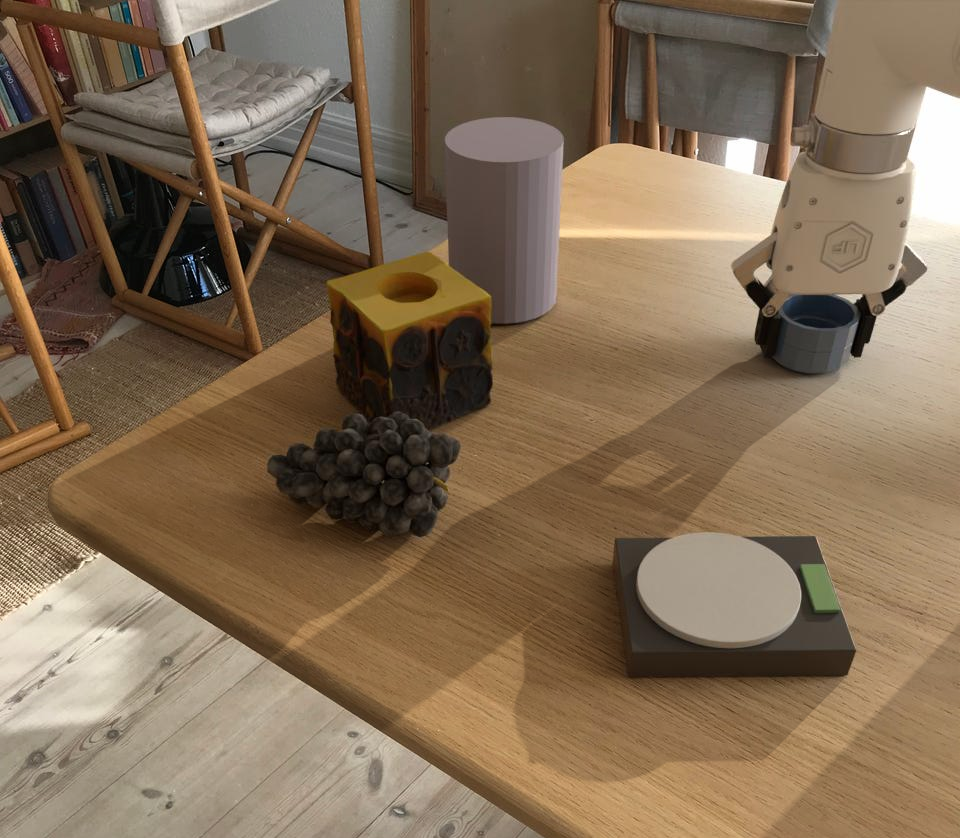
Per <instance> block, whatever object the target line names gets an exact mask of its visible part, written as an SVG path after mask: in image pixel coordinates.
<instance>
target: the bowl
mask: <svg viewBox="0 0 960 838" xmlns="http://www.w3.org/2000/svg"><path fill="white" fill-rule="evenodd" d="M778 312H779V314H780V317H781V324H780V328H779V333H778V338H777V342H776V347H775V352H774V356H773V357H771V359H773V360H774V361H776V362H777V363H778V364H780V365H781V366H783V367H784V368H786V369H788V370H790V371H793V372H796V373H800V374H808V375H821V374H826V373H830V372H833V371H838V370H840V369H841V368H842V367H845V365H847V363H848V362H849V359H850V355H851V353H850V352H851V348H852V345H853V341H854V337H855V334H856V330H857V327H858V323H859V319H860V316H861V314H860V312H859V310H858V308H857V306H856V305H854V303H853V302H852V301H850V300H849V299H848V298H845V297H842V296H840V295H793V294H791V295H790V296H789V297H788V298H787V300H786V301H785V302H784V304H783V305H782V306H781V307H780V309H779V311H778Z"/></svg>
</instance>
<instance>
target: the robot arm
mask: <svg viewBox="0 0 960 838" xmlns="http://www.w3.org/2000/svg"><path fill="white" fill-rule="evenodd" d="M824 59H825V60H824V63H823V69H822V73H821V78H820V82H819V88H818V93H817V97H816V101H815V106H814V112H811V113H810V117H809V120H808V122H807V124H803V125H802V126H799V127H798V126H796V127H795V126H793V127H792V129H791V132H790V138H789V141H790V142H789V143H790V146H791V147H799V148H800V149H804V150H805V151H800V152H799V153H798V155H797V156H796V158H795V161H794V162H793V164H792V167H791V170H790V172H789V174H788V178H787V180H786V182H785V186H784V188H783V191H782V194H781V197H780V200H779V203H778V207H777V209H776V213H775V218H774V220H773V224H772V228H771V232H770V235H768V236H767V237H766V238H764V239H762V240H761V241H760V242H758V243H757V244H755V245H754V246H752V248H750V249H749V250H747V251H746V252H744V253H743V254H741V255H739V257H737V258H736V259H735V260H733V261H732V262H731V265H730V269H731V271H732V273H733V276H734V277H735V279H736V280H737V282H738V283H739V284H740V286H741V287H742V289H743V290H744V291H745V292H746V295H747V296H748V298H750V300H751V301H752V302H753V303H754V304H755V305H756V306H757V308H758V314H757V321H756V324H755V329H754V343H755V345H756V346H759V348H760V350H761V353H762V356H763V358H764V359H767V360H768V359H772V357H773V356H774V352H775V347H776V342H777V338H778V333H779V328H780V324H781V317H780V314H779V312H778V311H779V309H780V307H781V306H782V305H783V304H784V302H785V301H786V300H787V298H788V297H789V296H790V295H791V294H793V295H837V296H840V295H861V297H860V298H856V301H855V302H854V303H853V304H854V305H856V306H857V308H858V310H859V312H860V314H861V316H860V319H859V323H858V327H857V330H856V334H855V337H854V341H853V345H852V348H851V352H850V355H851V357H853V358H857V359H859V358H861V357H862V355H863V351H864V348H865V345H867V344H869V343H870V341H871V338H872V334H873V332H874V328H875V324H876V321H877V317H879V316H881V315H882V314H884V312H885V311H886V307H887V306H889V305H890V304H891V303H893V302H894V301H895V300H897V299H898V298H899V297H901V296H902V295H903V294H905V292H906V290H907V288H908V287H911V286H913V284H914V283H915V282H916V281H918V280H919V279H920V278H921V277H922V276H923V275H924V274H926V272H927V271H928V265H927V264H926V262H925V260H924V259H923V257H921V255H920V254H919V253H918V252H916V250H914V248H913V247H911V245H910V244H909V243H908V242H907V236H908V232H909V226H910V219H911V215H912V207H913V200H914V193H915V183H916V164H914V162H913V161H912V160H911V159H910V158H908V156H909V152H910V149H911V145H912V142H913V137H914V134H915V131H916V127H917V123H918V119H919V115H920V113H921V112H920V111H921V108H922V104H923V100H924V97H925V95H926V90H927V88H930V89H932V90H934V91H937V92H939V93H942V94H944V95H947V96H951V97H953V98H955V99H960V0H837V1H836V6H835V10H834V14H833V20H832V25H831V30H830V34H829V39H828V43H827V47H826V53H825V58H824ZM764 264H765V265H766V267H767V268H768V269H769V270H770V271H771V275H770V276H769V277H768V279H767V280H766V281H765V283H764V284H763V283H762V281H760V279H759V278H758V277H757V276H756V275H755V271H756V270H757V269H759V268H760V267H762V266H763V265H764Z"/></svg>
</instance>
